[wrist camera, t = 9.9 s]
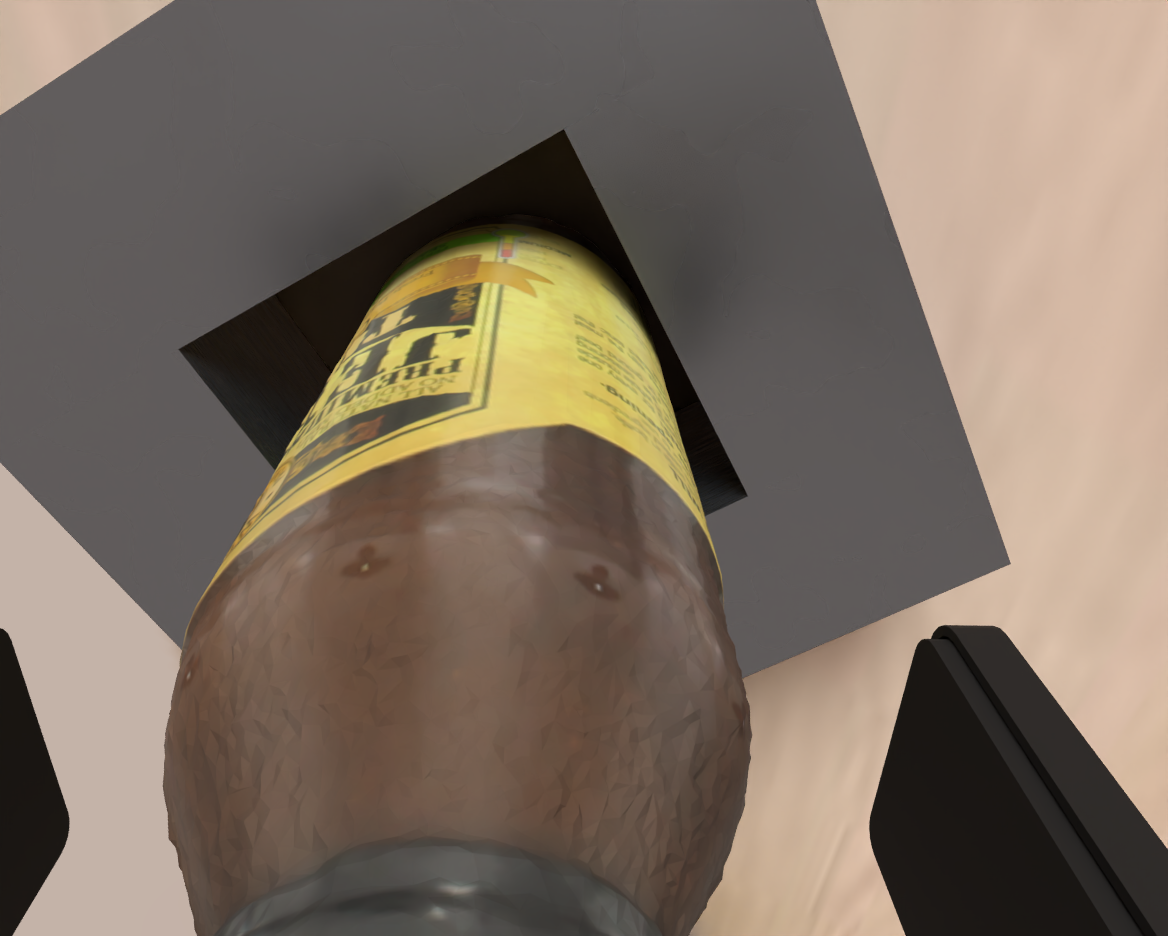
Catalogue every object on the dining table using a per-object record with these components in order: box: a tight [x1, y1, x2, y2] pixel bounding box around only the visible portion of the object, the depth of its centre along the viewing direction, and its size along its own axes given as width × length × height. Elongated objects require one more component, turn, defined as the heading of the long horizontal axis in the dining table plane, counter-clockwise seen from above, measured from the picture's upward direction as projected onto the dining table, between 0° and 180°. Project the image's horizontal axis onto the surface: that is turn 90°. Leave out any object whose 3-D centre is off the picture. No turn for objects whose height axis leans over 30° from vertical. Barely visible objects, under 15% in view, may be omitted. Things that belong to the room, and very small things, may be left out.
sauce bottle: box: [163, 214, 752, 936], centre depth 11 cm, size 6×6×20 cm
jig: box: [0, 0, 1011, 678], centre depth 18 cm, size 16×16×5 cm
